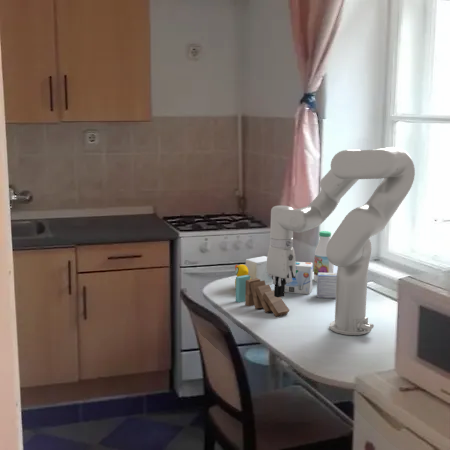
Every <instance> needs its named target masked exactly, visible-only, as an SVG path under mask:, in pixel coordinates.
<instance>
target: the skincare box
mask: <svg viewBox="0 0 450 450" xmlns="http://www.w3.org/2000/svg"><path fill="white" fill-rule="evenodd" d="M244 265H245V266H247V268H248V276H250V278H251V279H255V278H258V279H260V281H264V280H265V285H270V286H272V284H273V279H272V278H271V277H269V276H268V272H267V256H265V255H262V256H257V257H252V258H246V259H245V264H244ZM273 285H274V284H273Z"/></svg>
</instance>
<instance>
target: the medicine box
mask: <svg viewBox="0 0 450 450" xmlns="http://www.w3.org/2000/svg"><path fill="white" fill-rule="evenodd" d="M336 280H337V272H333V273H318V277H317V283H316V298H320V299H324V298H325V299H336Z"/></svg>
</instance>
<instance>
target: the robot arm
mask: <svg viewBox="0 0 450 450" xmlns="http://www.w3.org/2000/svg"><path fill="white" fill-rule="evenodd" d="M415 171H416V170H415V164H414V162H413V159H412V157H411V156H410V154H409V153H408V152H407V151H406V150H404V149H403V148H400V147H397V146H395V147H394V146H390V147H385V148H383V147H382V148H377V149H376V148H375V149H361V150H360V149H358V148H357V149H356V148H352V149H345V150H341V151H338V152H337V153H335V154H334V156H333V157H332V159H331V161H330V169H329V170H328V171H327V173H326V174H325V175H324V176H323V177H322V178H321V179H320V181H319V187H320V191H319V192H318V194H317V196H316V197H315V198H314V199H313V200H311V201H310V202H311V203H310V204H308V205H307V206H304V207H300V208H296V209H295V208H293V207H291V206H290V205H289V206H288V205H275V206H272V208H271V210H270V231H269V232H270V234H269V246H268V250H267V256H266V257H267V272H268V276H269V277H271V278H272V279H273V286H274V288H273V289H274V290H273V291H274V296H275V297H281V298H282V297H285V293H286V292H285V285H286V283H289V282H292V277H295V274H296V262H297V261H296V253H295V252H296V251H295V248H294V247H293V246H294V233H303V232H306V231H307V232H308V231H309V230H310V231H311V230H312V229H313V230H314V229H316V228H318V227H319V226H321V224H322V223H324V222H325V221H326V220H327V218H329V216H331V214H332V213H333V212H334V211H335V210H336V208H337V207H338V204H339V203H340V201H341V199H342V198H343V197H344V196H345V195H346V194H347V193H348V192H349V191H350V189H351V188H352V187H353V186H354V185H355V184H356V183H357V182H358V181H359V180H374V179H375V180H377V179H378V180H379V179H380V180H381V179H383V180H382V181H381V183H380V184H378V186H377V187H376V189H375V190H374V191H373V193H371V194H372V195H371V196H370V197H369V198H368V200H367V201H366V202H365V204H363V205H360V206H358V207H355V208H353V209H352V210H351V211H349V212H348V213H347V214H346V215H345V217H344V218H343V220H342V221H341V222H340V224H339V226H337V228H336V230H335V232H334V233H333V235H331V238H330V240H329V242H328V244H327V248H326V255H327V258H328V260H329V261H330V262H331V263H332V264H333V265H334V266H335V267H337V270H336V273H337V280H336V298H335V303H334V304H335V305H334V306H335V307H334V320H333V321H331V322H330V323H329V329H330V330H331V331H332V332H334V333H337V334H340V335H347V336H362V335H365V334H368V333H370V332H371V331H372V329H374V326H375V325H374V324H373V323H369V317H366V314H367V313H366V312H367V311H366V310H367V293H368V279H369V276H368V275H369V268H370V267H369V265H370V261H371V256H372V242H371V239H370V238H372V237H373V236H376V235H378V234H380V233H382V232H383V230H384V229H385V228H386V227H387V225H388V223H389V222H390V220H391V219H392V217H394V214H395V213H396V212H397V210H398V208H399V207H400V205H401V204H402V202H403V201H404V200H405V199H406V197H407V196H408V194H409V192H410V190H411V189H412V187H413V184H414V181H415V175H416V173H415Z"/></svg>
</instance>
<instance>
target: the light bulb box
mask: <svg viewBox="0 0 450 450" xmlns="http://www.w3.org/2000/svg"><path fill="white" fill-rule="evenodd" d="M313 277H314V262H308V261H307V262H304V261H296V274H295V277H292V282H289V283H286V285H285V293H290V294H301V295H303V294H304V295H310V294H311V293H312V290H313Z"/></svg>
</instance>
